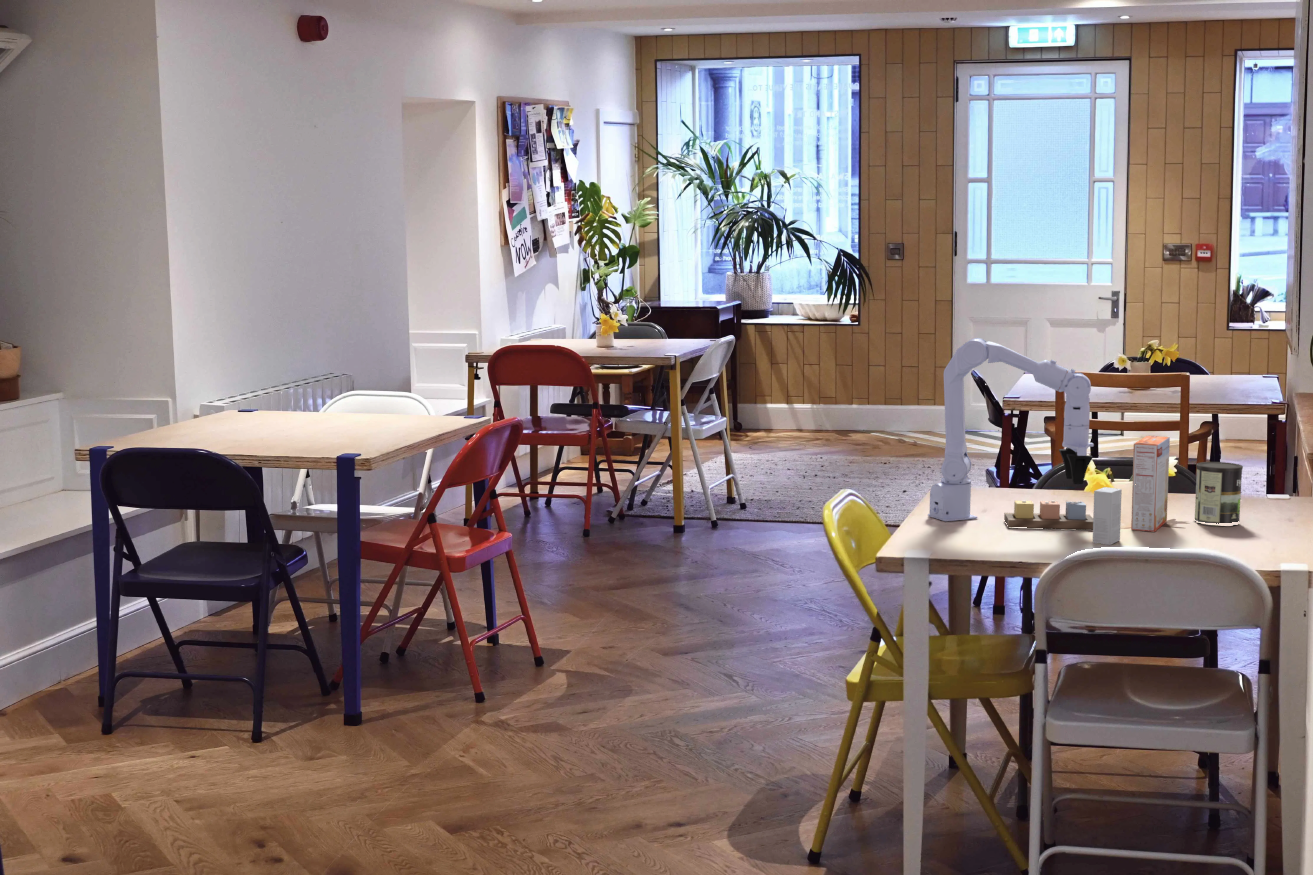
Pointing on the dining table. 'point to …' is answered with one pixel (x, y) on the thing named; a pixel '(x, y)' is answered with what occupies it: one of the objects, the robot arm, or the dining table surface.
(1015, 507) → the yellow cube
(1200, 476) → the coffee can
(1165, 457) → the cracker box
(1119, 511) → the skincare box
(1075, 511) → the light blue cube
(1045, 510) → the two dot tile
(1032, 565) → the dining table surface
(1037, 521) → the brown flat board
